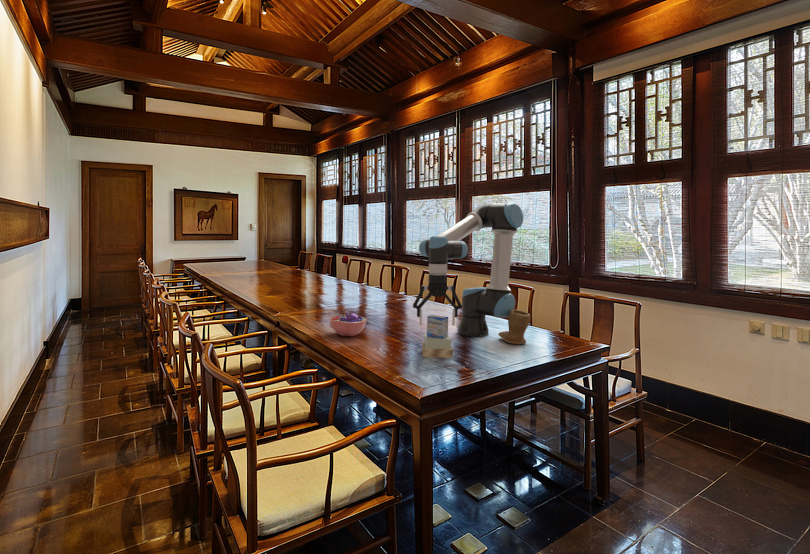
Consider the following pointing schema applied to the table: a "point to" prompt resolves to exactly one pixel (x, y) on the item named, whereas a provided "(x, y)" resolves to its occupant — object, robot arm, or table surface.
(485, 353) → the table surface
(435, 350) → the lower block
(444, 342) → the upper block
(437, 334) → the medicine box
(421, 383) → the table surface
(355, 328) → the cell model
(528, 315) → the tan boot-shaped piece
